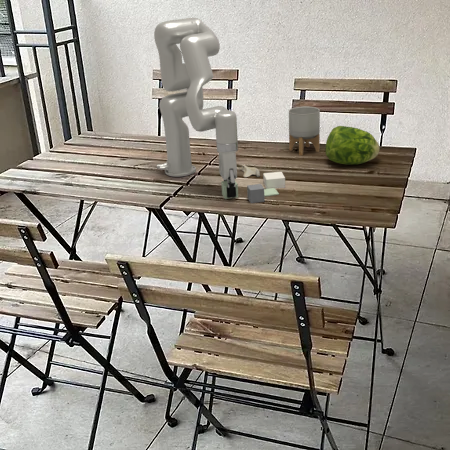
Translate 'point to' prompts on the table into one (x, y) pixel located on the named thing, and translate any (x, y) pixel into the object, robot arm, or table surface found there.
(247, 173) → the fossil
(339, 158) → the green rounded lump
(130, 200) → the table surface
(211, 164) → the table surface
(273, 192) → the swatch
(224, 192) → the sage cube
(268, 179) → the base block
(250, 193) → the gray cube
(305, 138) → the planter
